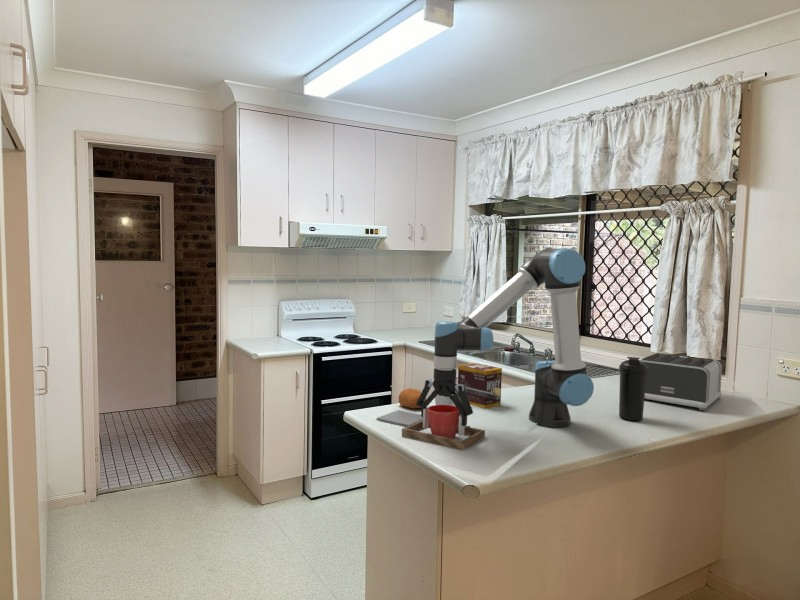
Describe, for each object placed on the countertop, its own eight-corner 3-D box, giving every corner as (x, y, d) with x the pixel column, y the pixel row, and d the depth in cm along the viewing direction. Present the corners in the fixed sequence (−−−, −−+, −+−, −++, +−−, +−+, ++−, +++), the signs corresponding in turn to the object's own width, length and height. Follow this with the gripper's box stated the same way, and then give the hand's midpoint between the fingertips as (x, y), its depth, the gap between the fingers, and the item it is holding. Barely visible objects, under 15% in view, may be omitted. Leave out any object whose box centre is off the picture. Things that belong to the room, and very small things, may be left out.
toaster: (723, 397, 255) (725, 358, 253) (705, 412, 227) (708, 368, 226) (652, 386, 274) (654, 350, 273) (628, 398, 247) (630, 358, 246)
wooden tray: (484, 437, 187) (484, 430, 187) (463, 450, 174) (463, 442, 174) (425, 425, 200) (425, 418, 199) (401, 435, 187) (401, 428, 187)
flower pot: (424, 432, 192) (425, 404, 191) (456, 431, 193) (457, 404, 192) (429, 442, 181) (429, 412, 180) (462, 441, 182) (463, 412, 181)
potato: (413, 403, 230) (414, 385, 229) (430, 409, 221) (431, 391, 220) (395, 406, 225) (395, 388, 224) (412, 413, 215) (412, 393, 215)
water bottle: (643, 415, 220) (647, 357, 218) (646, 422, 210) (649, 361, 208) (616, 412, 223) (619, 355, 221) (617, 419, 213) (620, 359, 212)
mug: (462, 412, 217) (463, 389, 216) (446, 415, 213) (447, 391, 212) (445, 406, 226) (446, 383, 225) (430, 409, 222) (430, 385, 221)
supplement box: (485, 409, 223) (486, 370, 222) (456, 401, 235) (457, 364, 234) (501, 405, 230) (502, 367, 229) (473, 398, 241) (474, 362, 240)
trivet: (429, 418, 208) (429, 416, 208) (408, 427, 197) (408, 424, 197) (397, 412, 216) (397, 410, 216) (376, 420, 205) (376, 418, 204)
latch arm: (459, 389, 198) (459, 378, 198) (503, 399, 184) (503, 388, 184) (451, 390, 195) (451, 380, 195) (496, 401, 181) (496, 390, 181)
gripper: (484, 371, 181) (482, 435, 183) (419, 362, 195) (417, 421, 197) (474, 374, 175) (471, 441, 177) (407, 365, 189) (405, 426, 190)
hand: (443, 431), depth 187 cm, fingers open, 13 cm apart
